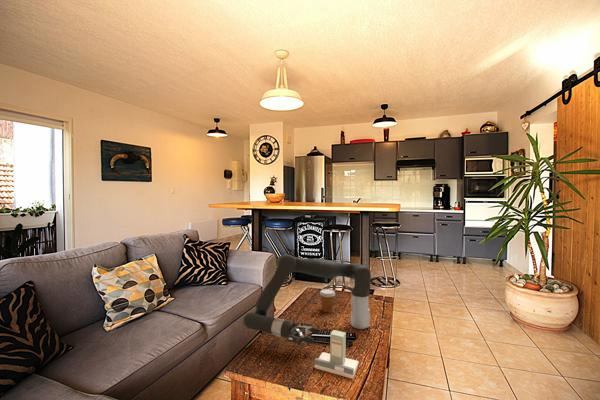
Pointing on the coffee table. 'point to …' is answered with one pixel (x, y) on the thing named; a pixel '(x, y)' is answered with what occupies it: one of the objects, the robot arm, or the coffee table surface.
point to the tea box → (337, 347)
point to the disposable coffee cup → (327, 299)
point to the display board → (336, 366)
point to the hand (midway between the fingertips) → (316, 336)
